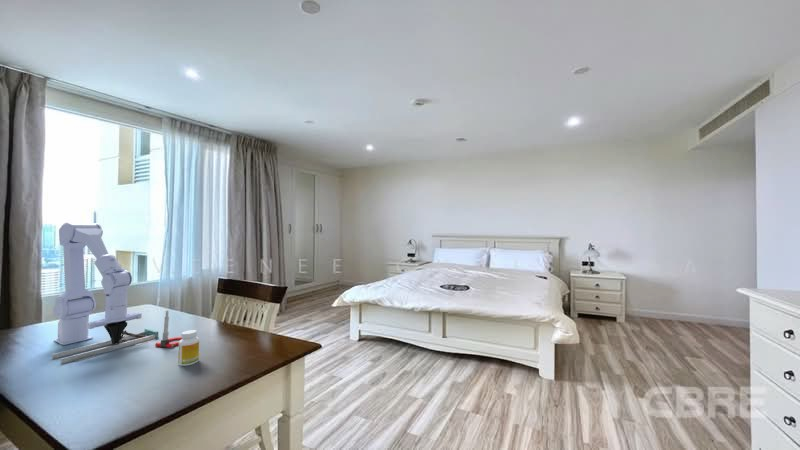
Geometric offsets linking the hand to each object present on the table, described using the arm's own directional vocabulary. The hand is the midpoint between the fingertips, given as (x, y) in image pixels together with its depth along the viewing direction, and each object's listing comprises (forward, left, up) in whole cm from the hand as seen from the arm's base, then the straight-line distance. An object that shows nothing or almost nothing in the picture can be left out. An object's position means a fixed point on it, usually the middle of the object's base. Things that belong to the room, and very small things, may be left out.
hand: (115, 343), depth 110 cm
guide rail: (0, -1, -1) cm, 2 cm away
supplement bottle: (+37, +5, -1) cm, 37 cm away
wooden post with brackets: (+1, +5, -1) cm, 5 cm away
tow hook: (+15, +12, -1) cm, 19 cm away
